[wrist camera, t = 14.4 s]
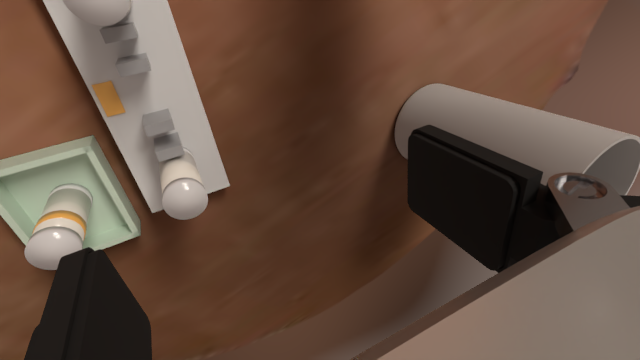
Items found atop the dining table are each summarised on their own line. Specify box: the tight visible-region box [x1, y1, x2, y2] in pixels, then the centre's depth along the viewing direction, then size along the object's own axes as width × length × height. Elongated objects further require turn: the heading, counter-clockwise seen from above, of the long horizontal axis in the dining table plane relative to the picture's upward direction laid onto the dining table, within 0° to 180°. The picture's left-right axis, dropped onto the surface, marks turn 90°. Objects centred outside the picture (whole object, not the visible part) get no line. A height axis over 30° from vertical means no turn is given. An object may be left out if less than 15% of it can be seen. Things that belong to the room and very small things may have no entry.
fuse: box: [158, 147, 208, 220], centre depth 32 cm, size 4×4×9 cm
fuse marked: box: [25, 183, 93, 270], centre depth 31 cm, size 4×4×9 cm
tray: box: [0, 135, 141, 251], centre depth 33 cm, size 11×9×3 cm
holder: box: [43, 0, 230, 213], centre depth 31 cm, size 26×9×6 cm, turn 10°
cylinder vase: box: [395, 84, 640, 195], centre depth 42 cm, size 12×12×25 cm
